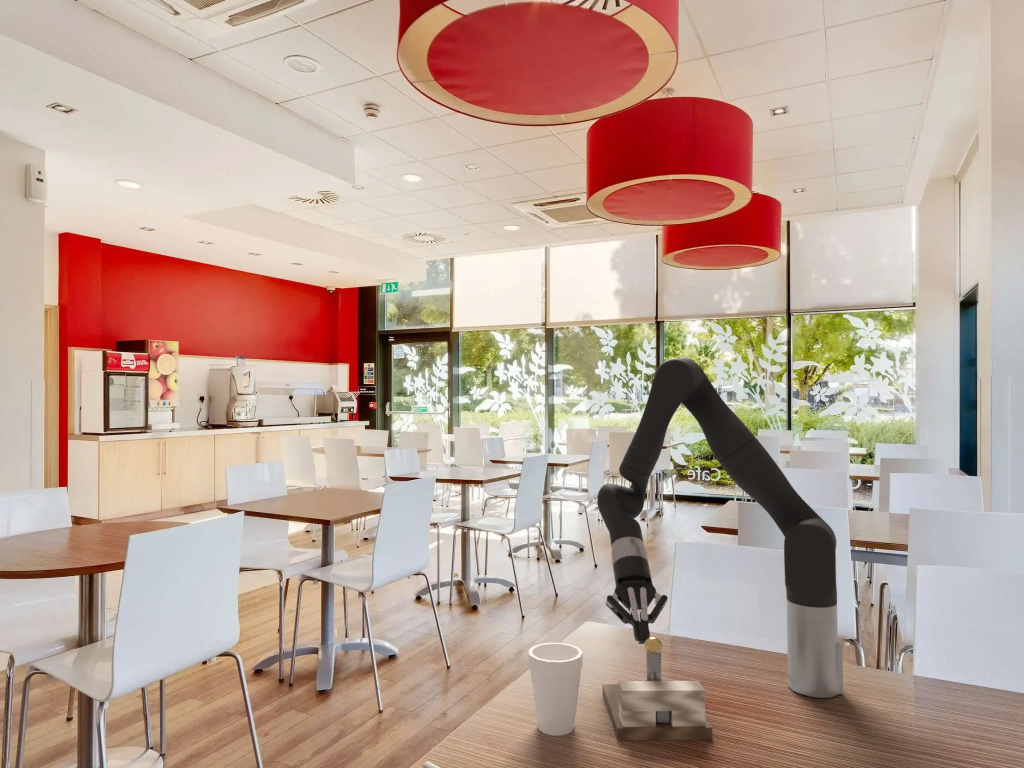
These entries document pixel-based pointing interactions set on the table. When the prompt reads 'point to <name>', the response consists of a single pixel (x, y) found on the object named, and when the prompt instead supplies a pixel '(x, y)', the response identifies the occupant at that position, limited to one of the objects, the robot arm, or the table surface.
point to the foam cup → (555, 685)
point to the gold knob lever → (655, 669)
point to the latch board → (649, 731)
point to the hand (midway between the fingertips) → (643, 642)
